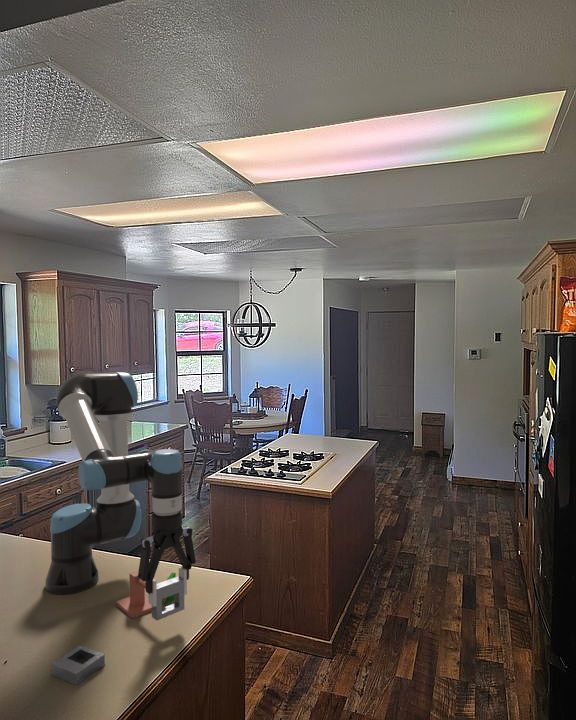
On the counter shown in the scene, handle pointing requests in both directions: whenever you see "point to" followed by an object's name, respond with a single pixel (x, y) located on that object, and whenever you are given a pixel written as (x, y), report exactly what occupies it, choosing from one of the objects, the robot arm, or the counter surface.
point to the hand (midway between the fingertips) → (168, 598)
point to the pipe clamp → (171, 595)
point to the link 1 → (77, 664)
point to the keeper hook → (136, 598)
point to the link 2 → (166, 590)
